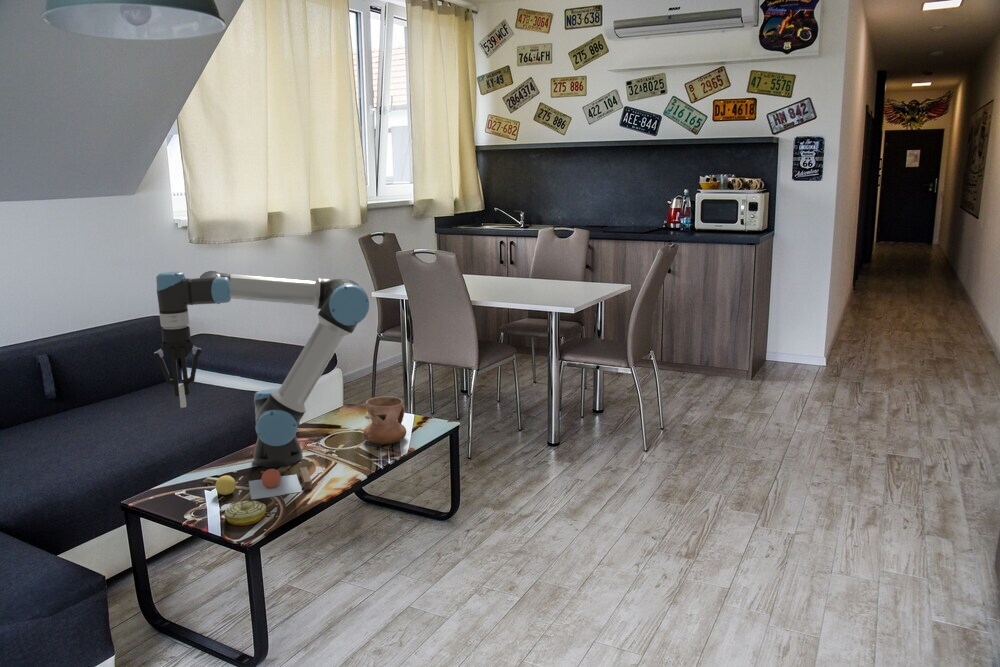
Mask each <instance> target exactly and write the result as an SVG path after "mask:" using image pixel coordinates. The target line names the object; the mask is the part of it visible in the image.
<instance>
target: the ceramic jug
mask: <svg viewBox="0 0 1000 667" xmlns="http://www.w3.org/2000/svg"><path fill="white" fill-rule="evenodd" d="M365 407H366V410H367V414H366V415H365V416H364V418H365V419H366V420H371V423H369V424H368V425H366V426H365V428H364V429H363V437H364V439H365V440H366V441H367V442H369V443H372V444H375V445H391V444H395V443H397V442H400V441H402V440H403V439H404V438H405V437H406V436H407V429H406V427H405V425H403V424H402V423H403V420H404V415H405V407H404V405H403V399H402V398H401V397H400V398H399V397H398V396H389V395H388V396H387V395H386V396H376V397H372V398H369V399H367V400H366V402H365Z"/></svg>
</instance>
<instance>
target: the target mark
mask: <svg viewBox="0 0 1000 667" xmlns="http://www.w3.org/2000/svg"><path fill="white" fill-rule="evenodd" d="M248 488H249V492H250V501H254V500H258V499H265V498H271V497H278V496H284V495H285V494H286V495H291V493H292V494H298V493H303V490H302V487H301V485H300V480H299V478H298V475H297V473H296V474H290V475H281V481H280V483H279V484H278V485H277V486H276V487H274V488H268V487H266V486H264V485H263V483H262V480H261V479H254V480H248Z"/></svg>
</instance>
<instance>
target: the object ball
mask: <svg viewBox="0 0 1000 667" xmlns="http://www.w3.org/2000/svg"><path fill="white" fill-rule="evenodd" d="M281 476H282V475H281V472H279V471H278V470H277V469H275V468H269V469H266V470H265V471H264V472H263V473H262V475H261V480H262V483H263V485H264V486H266V487H268V488H274V487H276V486H277V485H278V484H279V483H280V481H281Z"/></svg>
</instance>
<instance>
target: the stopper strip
mask: <svg viewBox="0 0 1000 667" xmlns="http://www.w3.org/2000/svg"><path fill="white" fill-rule="evenodd" d="M299 474H300V475H299V476H300V479H301V482H302V485H303V488H304V490H305V491H309V490H313V484H312V479H311V476H310V473H309V470H308V467H307V466H304V467H299Z"/></svg>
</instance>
